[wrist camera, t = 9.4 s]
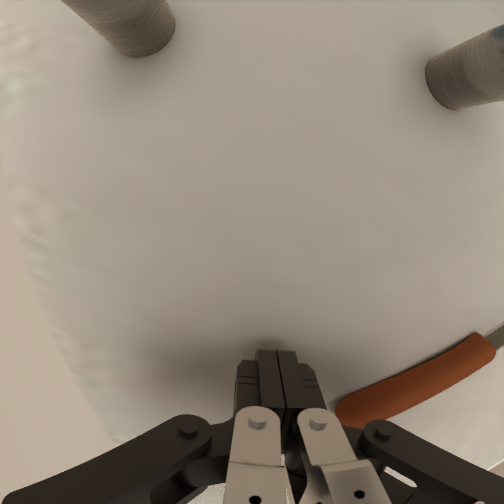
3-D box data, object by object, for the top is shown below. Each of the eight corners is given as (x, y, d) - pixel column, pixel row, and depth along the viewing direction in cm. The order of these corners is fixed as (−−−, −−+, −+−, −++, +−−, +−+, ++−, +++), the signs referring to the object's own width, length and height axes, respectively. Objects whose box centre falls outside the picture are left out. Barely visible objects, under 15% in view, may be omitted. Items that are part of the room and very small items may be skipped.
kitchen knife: (335, 414, 15) (344, 440, 13) (329, 397, 15) (338, 424, 13) (546, 295, 14) (565, 306, 12) (546, 276, 13) (567, 286, 12)
